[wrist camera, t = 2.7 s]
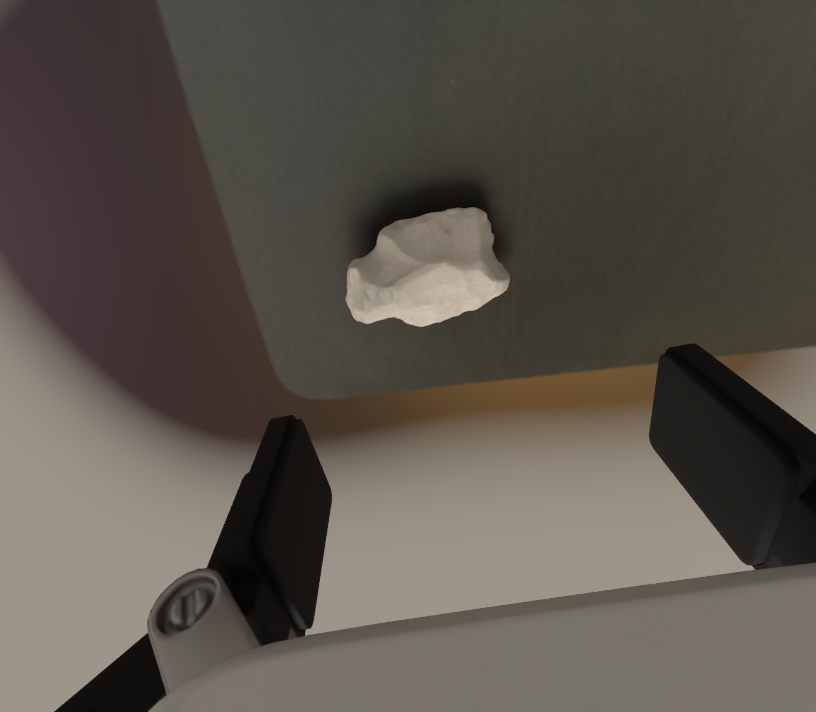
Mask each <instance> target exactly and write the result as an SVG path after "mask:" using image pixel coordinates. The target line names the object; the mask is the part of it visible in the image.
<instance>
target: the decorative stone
mask: <svg viewBox="0 0 816 712" xmlns="http://www.w3.org/2000/svg"><path fill="white" fill-rule="evenodd" d="M493 243H494V234H493V233H492V232H491V224H490V222H489V220H488V219H487V214H486V212H484V211H482V210H480V209H478V208H476V207H470V208H464V209H463V208H458V207H457V208H453V209H447V210H445V211H443V212H432V213H427V214H424V215H422V216H419V217H415V218H411V219H403V220H399V221H395V222H394V223H392V224H391V225H389V226H386V227H384V228H383V229H382V230H381V231H380V232H379V235H378V238H377V244H376V246H375V248H374V249H373V250H372V251H371V252H370V253H369V254H368V255H366V256H365V257H363V258H359V259H354V260H352V262H351V263H350V265H349V268H348V272H347V292H348V293H347V295H346V298H345V299H346V302H347V304H348V306H349V308H350V310H351V313H352V315H353V317H354V319H355V320H356V321H361V322H363V323H366V324H369V323H373V322H375V321H378V320H384V319H386V318H389V317H390V318H392V317H396V318H398V319H402V320H403V321H404V322H405V323H408V324H411V325H415V326H421V327H422V326H426V325H430V324H433V323H436V322H442V321H443V320H446V319H449V318H451V317H454V316H458V315H460V314H461V313H463V312H465V311H472V310H477V309H478V308H480V307H481V306H483V305H484V304H485V303H487V302H488V301H490V300H491V299H492V298H494V297H496V296H499V295H500V294H502V293H503V292H504V291H505V290H507V288H508V285H509V281H510V276H509V274H508V272H507V271H506V270H505V269H504V266H503V264H501V263H500V262H498V261H497V259H496V257H495V254H494V252H493V249H492V246H493Z"/></svg>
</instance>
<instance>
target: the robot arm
mask: <svg viewBox="0 0 816 712" xmlns="http://www.w3.org/2000/svg"><path fill="white" fill-rule="evenodd" d="M649 439H650V443H651V445H652V447H653V448H654V450H655V451H656V452H657V454H658V455H659V456H660V457H661V459H662V460H663V462H664V463H665V464H666V465H667V466H668V468H669V469H670V470H671V472H672V473H673V474H674V476H675V477H676V478H677V479H678V481H679V482H680V483H681V485H682V486H683V487H684V488H685V490H686V491H687V492H688V494H689V495H690V496H691V497H692V499H693V500H694V501H695V503H696V504H697V505H698V506H699V508H700V509H701V510H702V511H703V513H704V514H705V515H706V516H707V518H708V519H709V520H710V522H711V523H712V524H713V526H714V527H715V528H716V529H717V531H718V532H719V533H720V535H721V536H722V537H723V538H724V540H725V541H726V542H727V543H728V545H729V546H730V547H731V549H732V550H733V551H734V552H735V554H736V555H737V556H738V558H739V559H740V560H741V561H742V562H743V563H745V564H746V565H752V566H753V567H754V569H755V570H752V571H743V572H736V573H729V574H722V575H714V576H707V577H701V578H692V579H685V580H678V581H670V582H663V583H656V584H649V585H641V586H634V587H627V588H620V589H613V590H606V591H599V592H592V593H585V594H578V595H571V596H564V597H557V598H550V599H543V600H536V601H529V602H522V603H515V604H508V605H501V606H495V607H487V608H480V609H473V610H467V611H460V612H453V613H447V614H440V615H433V616H426V617H420V618H413V619H406V620H399V621H393V622H386V623H379V624H373V625H367V626H361V627H355V628H350V629H343V630H338V631H331V632H325V633H319V634H313V635H307V636H305V630H306V629H310V628H311V627H312V625H313V621H314V615H315V608H316V602H317V595H318V589H319V582H320V576H321V569H322V562H323V556H324V549H325V542H326V536H327V528H328V522H329V516H330V509H331V503H332V494H331V488H330V486H329V483H328V481H327V478H326V476H325V474H324V471H323V468H322V466H321V464H320V461H319V459H318V456H317V454H316V451H315V449H314V447H313V444H312V442H311V439H310V437H309V435H308V432H307V430H306V427H305V425H304V423H303V421H302V420H301V419H297V420H296V418H295V417H294V416H293V415H289V416H283V417H278V418H272V419H271V420H270V421H269V423H268V426H267V429H266V431H265V434H264V436H263V439H262V441H261V444H260V446H259V449H258V452H257V454H256V457H255V459H254V462H253V464H252V467H251V469H250V472H249V473H247V474H246V475H245V476H244V478H243V479H242V481H241V484H240V487H239V489H238V491H237V494H236V496H235V499H234V501H233V504H232V506H231V509H230V512H229V514H228V516H227V519H226V521H225V524H224V526H223V529H222V531H221V534H220V536H219V539H218V541H217V544H216V546H215V548H214V551H213V554H212V556H211V558H210V561H209V563H208V566H207V568H205V569H197V570H194V571H191V572H188V573H186V574H184V575H183V576H181V577H179V578H178V579H176V580H175V581H174V582H173V583H172V584H170V585H169V586H168V587H167V588H166V589H165V590H164V592H162V594H161V595H160V596H159V597H158V599H157V600H156V602H155V604H154V605H153V607H152V609H151V611H150V614H149V618H148V621H147V627H148V633H147V634H146V635H145V636H144V637H142V638H141V639H140V640H139V641H138V642H136V643H135V644H134V645H133V646H132V647H131V648H129V649H128V650H127V651H126V652H125V653H123V654H122V655H121V656H120V657H119V658H118V659H116V660H115V661H114V662H113V663H112V664H110V665H109V666H108V667H107V668H106V669H104V670H103V671H102V672H101V673H100V674H98V675H97V676H96V677H95V678H94V679H93V680H91V681H90V682H89V683H88V684H87V685H85V686H84V687H83V688H82V689H81V690H79V691H78V692H77V693H76V694H75V695H74V696H72V698H70V699H69V700H68V701H66V702H65V703H64V704H63V705H62V706H61V707H59V708H58V709H57V710H56V711H54V712H816V434H814V433H813V432H812V431H810V430H809V429H808V428H807V427H805V426H804V425H803V424H801V423H800V422H799V421H797V420H796V419H795V418H793V417H792V416H791V415H789V414H788V413H787V412H785V411H784V410H783V409H781V408H780V407H779V406H778V405H776V404H775V403H774V402H772V401H771V400H770V399H768V398H767V397H766V396H764V395H763V394H762V393H760V392H759V391H758V390H756V389H755V388H754V387H752V386H751V385H750V384H748V383H747V382H746V381H745V380H743V379H742V378H741V377H739V376H738V375H737V374H735V373H734V372H733V371H731V370H730V369H729V368H727V367H726V366H725V365H724V364H722V363H721V362H720V361H718V360H717V359H716V358H714V357H713V356H712V355H710V354H709V353H708V352H706V351H705V350H704V349H702V348H701V347H700V346H698V345H697V344H687V345H681V346H675V347H670V348H668V349H667V350H666V352H665V354H663V355H661V356H660V358H659V363H658V371H657V378H656V387H655V394H654V401H653V409H652V416H651V424H650V431H649Z"/></svg>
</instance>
